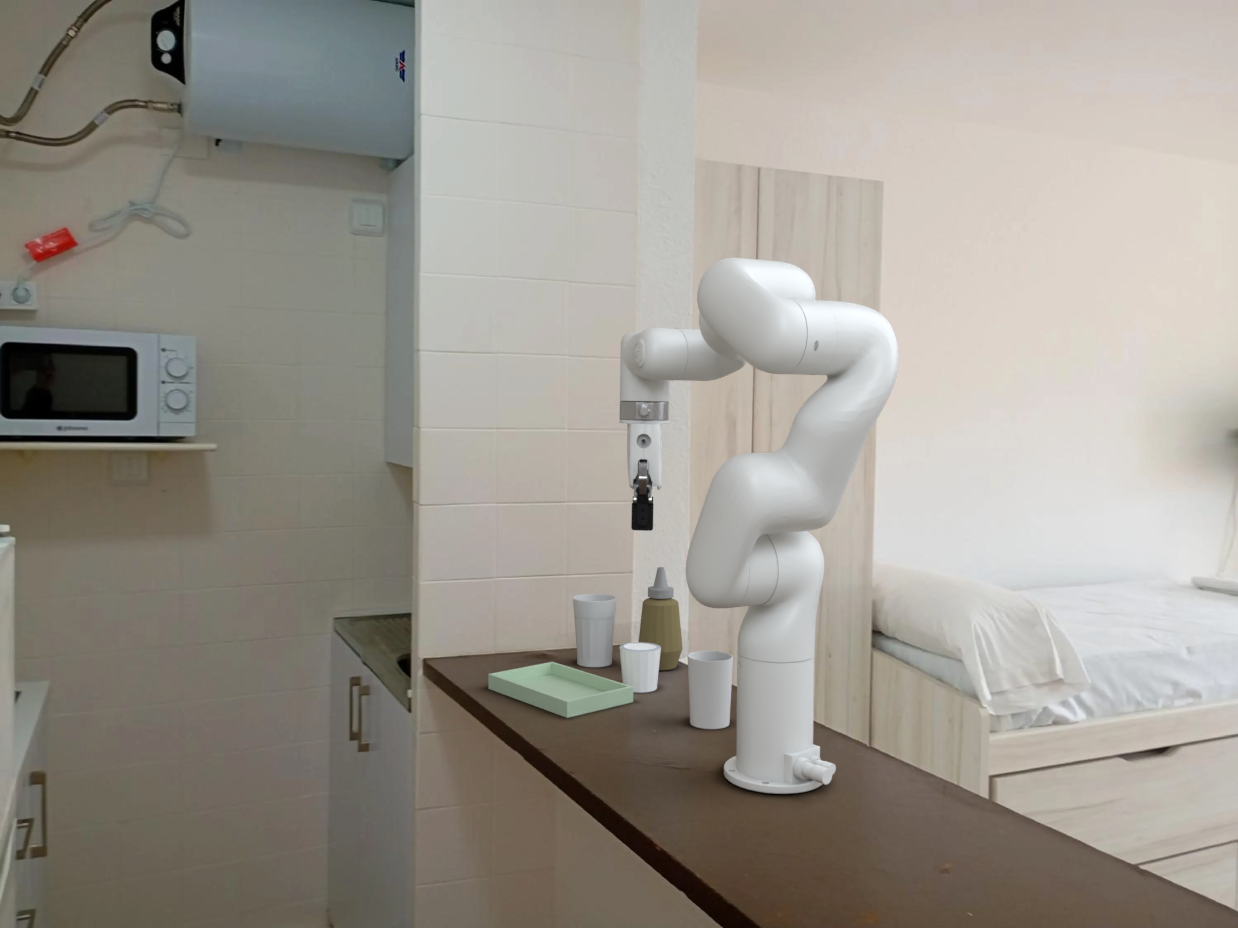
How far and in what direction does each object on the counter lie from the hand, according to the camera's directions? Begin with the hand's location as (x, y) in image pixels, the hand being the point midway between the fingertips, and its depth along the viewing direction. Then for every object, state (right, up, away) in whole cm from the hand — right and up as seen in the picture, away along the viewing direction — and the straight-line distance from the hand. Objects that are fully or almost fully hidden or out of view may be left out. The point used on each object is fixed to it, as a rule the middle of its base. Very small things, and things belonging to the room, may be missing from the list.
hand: (642, 525), depth 158 cm
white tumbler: (+10, -29, -6) cm, 31 cm away
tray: (-13, -28, +9) cm, 32 cm away
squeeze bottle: (+4, -27, +27) cm, 39 cm away
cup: (-8, -27, +30) cm, 41 cm away
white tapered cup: (0, -28, +13) cm, 31 cm away
